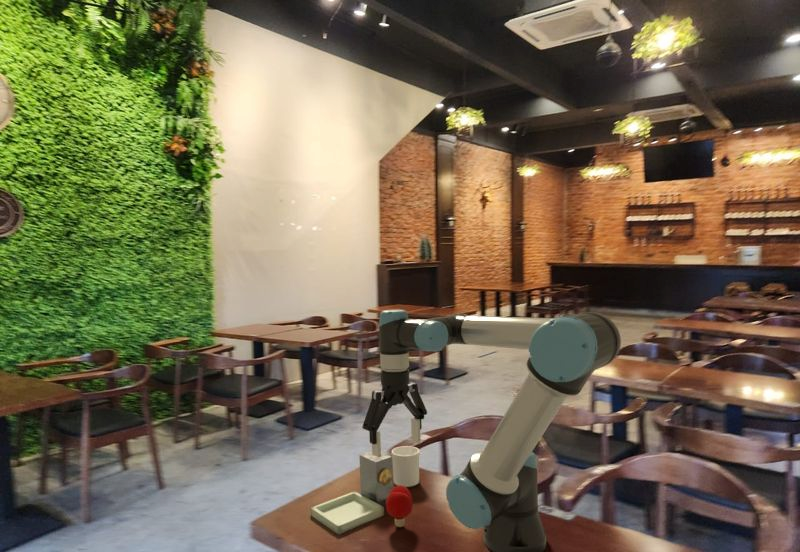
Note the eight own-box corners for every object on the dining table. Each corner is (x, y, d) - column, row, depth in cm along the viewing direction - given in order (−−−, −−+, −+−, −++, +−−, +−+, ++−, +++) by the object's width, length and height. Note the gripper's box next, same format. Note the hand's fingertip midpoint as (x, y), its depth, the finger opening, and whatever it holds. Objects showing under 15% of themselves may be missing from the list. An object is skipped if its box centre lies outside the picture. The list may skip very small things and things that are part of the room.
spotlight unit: (396, 501, 151) (395, 457, 150) (378, 508, 146) (376, 463, 146) (376, 490, 158) (374, 448, 158) (357, 497, 154) (356, 454, 153)
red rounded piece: (409, 537, 130) (408, 498, 130) (382, 535, 132) (381, 496, 132) (415, 519, 139) (414, 482, 139) (390, 517, 141) (389, 481, 141)
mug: (417, 490, 157) (416, 456, 157) (389, 488, 159) (388, 455, 159) (424, 475, 168) (423, 444, 168) (397, 474, 170) (396, 443, 170)
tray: (384, 515, 142) (383, 507, 142) (338, 534, 133) (338, 526, 133) (354, 498, 153) (354, 491, 153) (310, 515, 143) (310, 507, 143)
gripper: (420, 360, 146) (422, 434, 146) (347, 374, 130) (349, 457, 130) (438, 363, 140) (440, 440, 140) (364, 378, 124) (367, 465, 124)
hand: (396, 449), depth 135 cm, fingers open, 13 cm apart
